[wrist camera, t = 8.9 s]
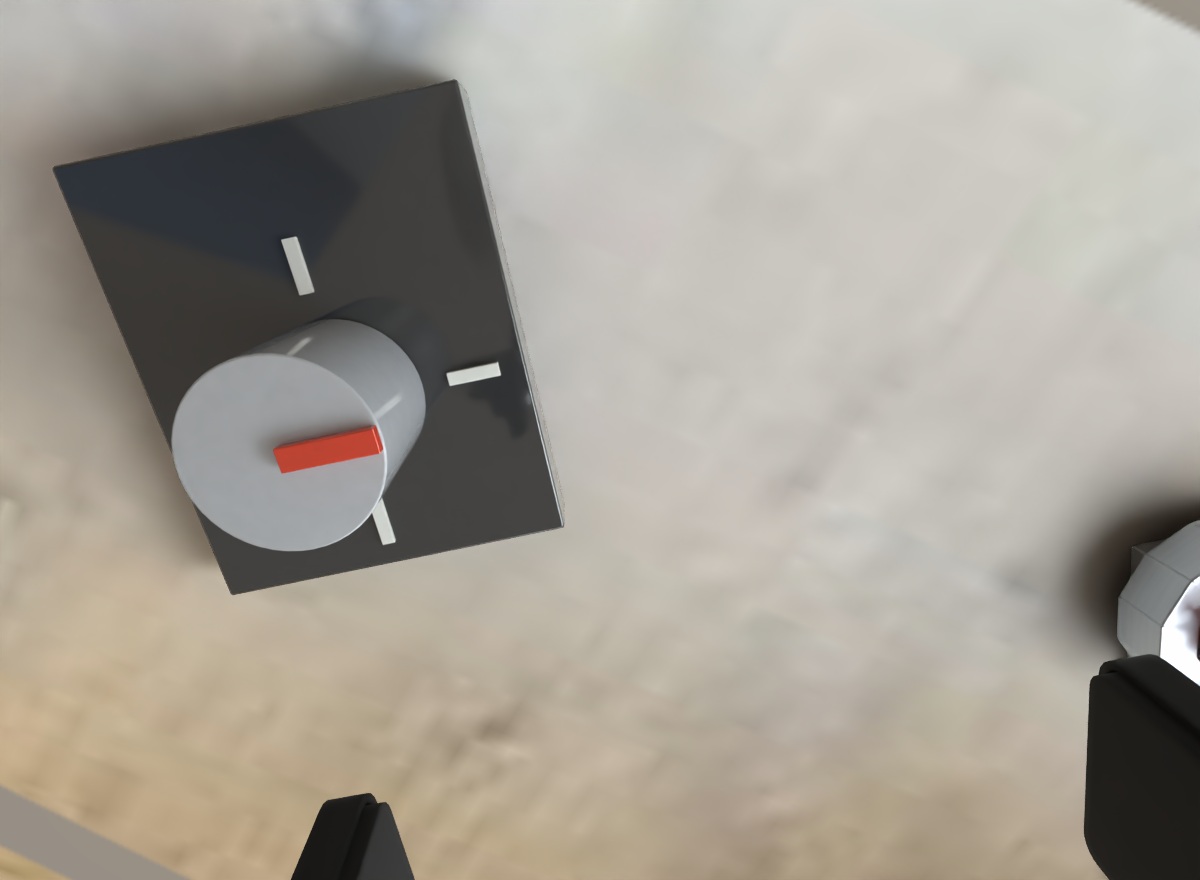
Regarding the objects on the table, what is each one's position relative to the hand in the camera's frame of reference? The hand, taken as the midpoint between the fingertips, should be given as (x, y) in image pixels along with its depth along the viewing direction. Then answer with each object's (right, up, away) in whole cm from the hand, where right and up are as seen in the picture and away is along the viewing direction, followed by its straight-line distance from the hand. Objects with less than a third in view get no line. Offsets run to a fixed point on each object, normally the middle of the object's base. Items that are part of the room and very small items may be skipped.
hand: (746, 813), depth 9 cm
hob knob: (-9, +6, +10) cm, 14 cm away
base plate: (-9, +8, +12) cm, 17 cm away
